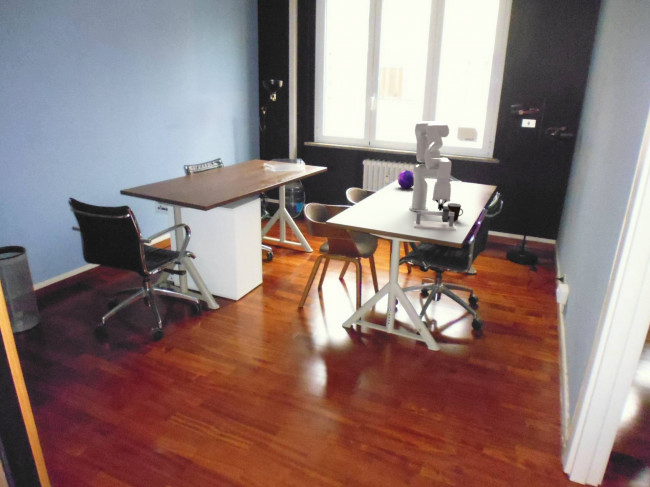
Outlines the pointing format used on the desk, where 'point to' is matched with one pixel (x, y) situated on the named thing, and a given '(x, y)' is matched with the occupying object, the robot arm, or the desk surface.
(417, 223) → the rail fixture
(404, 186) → the decorative orb
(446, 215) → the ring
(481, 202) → the desk surface
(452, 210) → the coffee mug
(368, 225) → the desk surface
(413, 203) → the robot arm
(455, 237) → the desk surface
